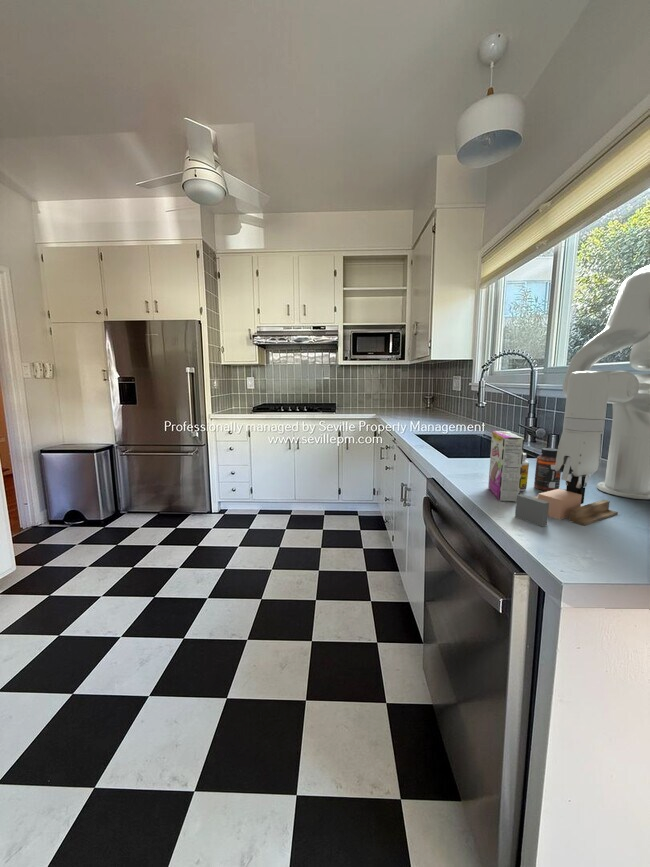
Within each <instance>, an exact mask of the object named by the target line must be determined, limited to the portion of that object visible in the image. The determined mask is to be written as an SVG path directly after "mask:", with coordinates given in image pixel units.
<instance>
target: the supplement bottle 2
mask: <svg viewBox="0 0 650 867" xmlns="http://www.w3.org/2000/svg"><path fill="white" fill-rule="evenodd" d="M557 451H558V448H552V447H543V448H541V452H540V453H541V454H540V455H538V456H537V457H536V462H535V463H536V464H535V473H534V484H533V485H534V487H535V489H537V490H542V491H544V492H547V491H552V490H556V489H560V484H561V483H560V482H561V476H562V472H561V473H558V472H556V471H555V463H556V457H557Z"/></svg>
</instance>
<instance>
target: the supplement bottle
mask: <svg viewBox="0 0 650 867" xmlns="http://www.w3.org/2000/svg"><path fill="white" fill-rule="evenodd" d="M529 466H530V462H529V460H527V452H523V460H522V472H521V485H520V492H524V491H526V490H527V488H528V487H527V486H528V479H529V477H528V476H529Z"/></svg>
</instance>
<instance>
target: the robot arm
mask: <svg viewBox="0 0 650 867" xmlns="http://www.w3.org/2000/svg"><path fill="white" fill-rule="evenodd" d="M604 327H605V328H604V329H602V330H601V332H599V333H598V334H596V335H595V336H594V337H593V338H591V339H590V340H589V341H587V342H586V343H585V344H584V345H583V346H582V347H580V349H579V350H578V351H577V352H576V353H575V354H574V355H573V357H572V358H571V360H570V363H569V365H568V367H567V370H566V373H565V376H564V377H563V378H564V379H563V383H562V393H563V396H564V397H565V399H566V400H565V408H564V415H563V416H564V417H563V426H562V433H561V435H560V439H559V443H558V446H557V449H558V451H557V457H556V463H555V471H556V472H558V473H561V480H562V481H565V486H566V489H565V490H566V491H569V492H573V493H577V494H581V495H582V498H581V505H583V504H584V503H585V502H584V501H585V495H586V494H585V493H586V487H587V485H588V482H589V478H590V477H592V476H593V474H594V473H596V472H597V471H598V470H599V465H600V459H601V458H600V457H601V446H602V445H601V442H602V435H604V428H605V421H606V415H607V405H608V404H612V421H611V422H612V423H611V431H610V440H609V446H608V447H609V448H608V454H607V456H608V457H607V463H606V471H605V479H604V481H600V482H597V486H596V488H597V489H598V490H599V491H601V492H604V493H606V494H610V495H613V496H618V497H621V498H622V497H623V498H628V499H635V500H636V499H637V500H650V373H643V374H642V373H639V374H637V373H636V374H634V373H632V372H630V371H627V370H591V368H592V367H593V366H594V365H595V364H597V363H598V362H599V361H601V360H602V359H603V358H605V357H607V356H610V355H611V354H614V353H617V352H619V351H622V350H625V349H627V348H629V347H631V346H632V347H631V350H630V354H629V366H630V367H631V368H632V369H634V370H636V371H641V372H650V264H649V265H646V266H644V267H641V268H639V269H638V270H636V271H635V272H634V273H633V274H632V275H630V276H628V277H627V278H626V279H625V280H624V281H623V282H622V284H621V286H620V288H619V291H618V293H617V296H616V299H615V300H614V303H613V306H612V308H611V310H610V314H609V316H608V319H607V322H606V325H605V326H604Z"/></svg>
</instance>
